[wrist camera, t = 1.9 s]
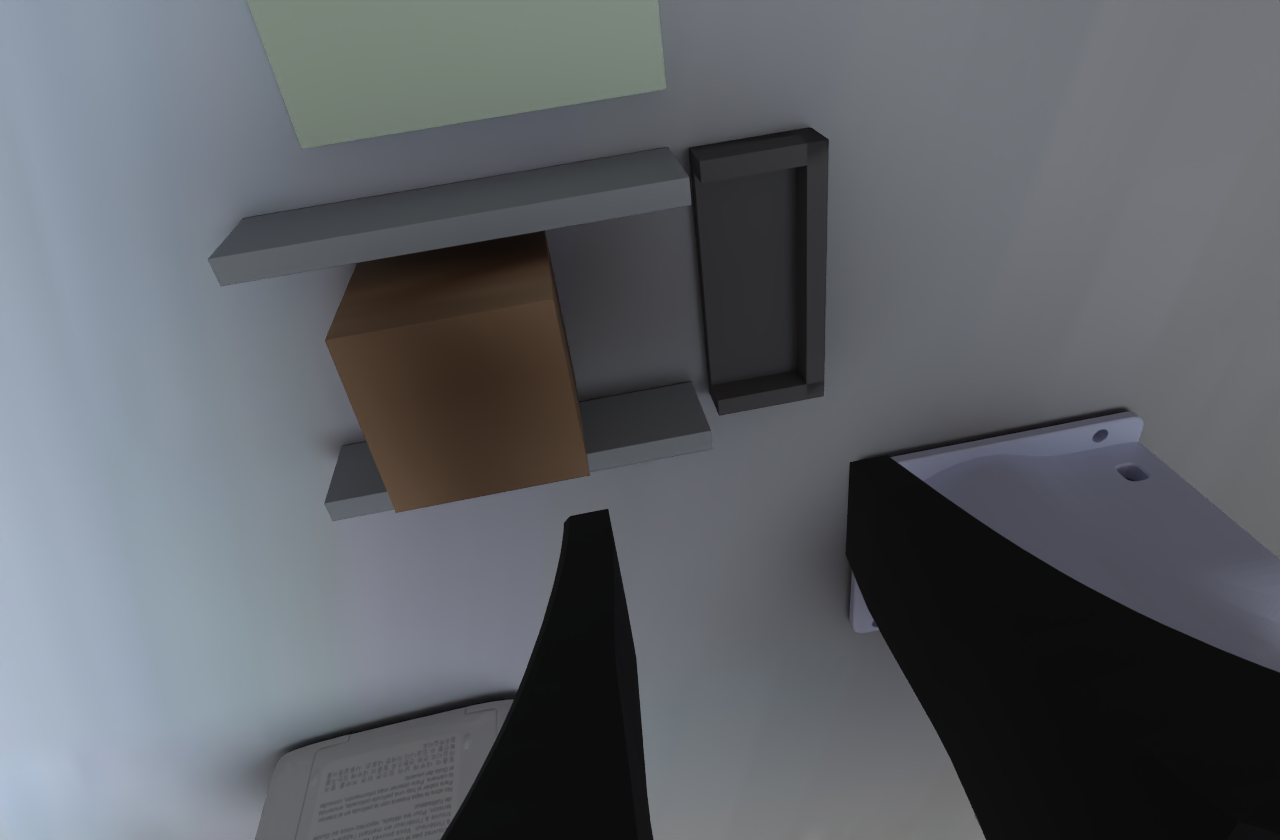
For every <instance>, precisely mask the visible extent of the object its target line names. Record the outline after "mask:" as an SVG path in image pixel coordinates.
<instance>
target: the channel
mask: <svg viewBox="0 0 1280 840" xmlns="http://www.w3.org/2000/svg"><path fill="white" fill-rule="evenodd" d="M689 205H692V204H691V193H690V181H689V176H688V175H687V173H686V172H685V171H684V169H683V168H682V166H681V165H680V163H679V162H678V161H677V159H676V158H675V156H674V155H673V153H672V152H671V151H670V149H669V148H668V147H666V148H660V149H654V150H648V151H642V152H636V153H630V154H624V155H618V156H613V157H607V158H601V159H595V160H589V161H583V162H577V163H571V164H565V165H559V166H553V167H547V168H541V169H535V170H529V171H523V172H517V173H511V174H505V175H499V176H493V177H487V178H482V179H476V180H470V181H464V182H458V183H452V184H446V185H440V186H434V187H428V188H422V189H416V190H410V191H404V192H398V193H392V194H386V195H380V196H374V197H368V198H362V199H356V200H350V201H345V202H339V203H333V204H327V205H321V206H315V207H309V208H303V209H297V210H291V211H285V212H279V213H273V214H267V215H261V216H255V217H249V218H243V219H242V220H241V221H240V223H239V224H238V225H237V226H236V227H235V228H234V230H233V231H232V232H231V233H230V234H229V235H228V236H227V238H226V239H225V240H224V241H223V242H222V243H221V245H220V246H219V247H218V248H217V249H216V250H215V252H214V253H213V254H212V255H211V256H210V257H209V258H208V261H209V263H210V265H211V267H212V269H213V271H214V273H215V275H216V277H217V279H218V282H219V284H220V286H225V285H231V284H237V283H242V282H248V281H254V280H260V279H266V278H271V277H277V276H283V275H289V274H295V273H300V272H306V271H312V270H318V269H324V268H330V267H335V266H341V265H347V264H353V263H359V262H364V261H370V260H376V259H382V258H388V257H393V256H399V255H405V254H411V253H417V252H422V251H428V250H434V249H440V248H446V247H451V246H457V245H463V244H469V243H475V242H480V241H486V240H492V239H498V238H504V237H509V236H515V235H521V234H527V233H533V232H538V231H544V230H550V229H556V228H562V227H567V226H573V225H579V224H585V223H591V222H596V221H602V220H608V219H614V218H620V217H626V216H631V215H637V214H643V213H649V212H655V211H660V210H666V209H672V208H678V207H684V206H689ZM579 407H580V414H581V420H582V427H583V433H584V440H585V446H586V452H587V459H588V465H589V472H594V471H599V470H604V469H610V468H615V467H620V466H626V465H631V464H636V463H641V462H647V461H652V460H657V459H662V458H668V457H673V456H678V455H683V454H689V453H694V452H699V451H705V450H710V449H712V438H711V430H710V427H709V425H708V422H707V420H706V417H705V415H704V412H703V410H702V407H701V405H700V402H699V400H698V397H697V395H696V392H695V390H694V387H693V385H692V382H687V383H682V384H676V385H671V386H666V387H660V388H655V389H649V390H644V391H639V392H633V393H628V394H622V395H617V396H612V397H606V398H601V399H595V400H590V401H584V402H579ZM324 504H325V506H326V508H327V510H328V512H329V514H330V516H331V519H332V521H336V520H341V519H346V518H352V517H357V516H362V515H367V514H373V513H378V512H383V511H388V510H394V507H393V505H392V502H391V500H390V497H389V495H388V492H387V490H386V488H385V485H384V483H383V480H382V478H381V475H380V473H379V471H378V468H377V466H376V463H375V461H374V458H373V456H372V454H371V451H370V449H369V446H368V444H367V442H363V443H357V444H352V445H346V446H342V448H341V451H340V454H339V457H338V461H337V464H336V467H335V470H334V474H333V477H332V480H331V483H330V487H329V490H328V493H327V496H326V500H325V503H324Z"/></svg>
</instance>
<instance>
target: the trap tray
mask: <svg viewBox="0 0 1280 840" xmlns="http://www.w3.org/2000/svg"><path fill="white" fill-rule="evenodd" d="M828 147H829V140H828V139H827V138H826V137H824V136H823V135H821V134H820V133H818V132H817V131H815V130H814V129H813V128H805V129H799V130H793V131H787V132H781V133H775V134H769V135H763V136H757V137H751V138H745V139H740V140H734V141H728V142H722V143H716V144H710V145H704V146H698V147H692V148H689V153H690V165H691V177H692V189H693V201H694V213H695V225H696V237H697V249H698V260H699V272H700V284H701V296H702V308H703V320H704V332H705V344H706V356H707V368H708V380H709V392H710V395H711V398H712V400H713V402H714V405H715V407H716V409H717V412H718V414H719V416H720V415H725V414H731V413H736V412H741V411H747V410H752V409H757V408H763V407H768V406H773V405H779V404H784V403H789V402H795V401H800V400H805V399H811V398H816V397H821V396H824V360H825V307H826V254H827V201H828Z"/></svg>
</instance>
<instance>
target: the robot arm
mask: <svg viewBox="0 0 1280 840" xmlns="http://www.w3.org/2000/svg"><path fill="white" fill-rule="evenodd" d="M1143 425H1144V422H1143V420H1142V418H1141V417H1139V416H1138V415H1137V414H1135V413H1133V412H1122V413H1117V414H1112V415H1107V416H1102V417H1096V418H1091V419H1086V420H1081V421H1076V422H1070V423H1065V424H1060V425H1055V426H1050V427H1045V428H1039V429H1034V430H1029V431H1024V432H1019V433H1013V434H1008V435H1003V436H998V437H993V438H988V439H982V440H977V441H972V442H967V443H962V444H956V445H951V446H946V447H941V448H936V449H930V450H925V451H920V452H915V453H910V454H905V455H899V456H894V457H889V456H887V455H885V456H880V457H875V458H870V459H864V460H859V461H854V462H850V470H849V493H848V515H847V537H846V556H847V559H848V561H849V564H850V567H851V569H852V578H851V598H850V617H849V621H850V625H851V627H852V629H853V630H854V631H855V632H857V633H868V632H873V631H878V630H880V632H881V634H882V636H883V638H884V639H885V641H886V643H887V645H888V646H889V648H890V650H891V652H892V654H893V655H894V657H895V659H896V661H897V662H898V664H899V666H900V668H901V670H902V671H903V673H904V675H905V677H906V678H907V680H908V682H909V684H910V685H911V687H912V689H913V691H914V692H915V694H916V696H917V698H918V700H919V701H920V703H921V705H922V707H923V708H924V710H925V712H926V714H927V715H928V717H929V719H930V721H931V722H932V724H933V726H934V728H935V730H936V731H937V733H938V735H939V737H940V739H941V741H942V743H943V745H944V747H945V749H946V751H947V753H948V755H949V757H950V759H951V761H952V763H953V765H954V768H955V770H956V772H957V774H958V777H959V779H960V781H961V783H962V786H963V788H964V790H965V792H966V795H967V797H968V799H969V801H970V804H971V806H972V808H973V810H974V813H975V817H976V819H977V821H978V823H979V825H980V827H981V829H982V831H983V834H984V836H985V838H986V840H1280V560H1279V559H1278V558H1277V557H1276V556H1275V555H1274V554H1273V553H1271V552H1270V551H1269V550H1268V549H1267V548H1265V547H1264V546H1263V545H1262V544H1261V543H1259V542H1258V541H1257V540H1256V539H1255V538H1253V537H1252V536H1251V535H1250V534H1249V533H1247V532H1246V531H1245V530H1244V529H1243V528H1241V527H1240V526H1239V525H1238V524H1237V523H1235V522H1234V521H1233V520H1232V519H1231V518H1229V517H1228V516H1227V515H1226V514H1225V513H1223V512H1222V511H1221V510H1220V509H1219V508H1217V507H1216V506H1215V505H1214V504H1213V503H1211V502H1210V501H1209V500H1208V499H1207V498H1205V497H1204V496H1203V495H1202V494H1201V493H1199V492H1198V491H1197V490H1196V489H1195V488H1193V487H1192V486H1191V485H1190V484H1189V483H1187V482H1186V481H1185V480H1184V479H1183V478H1181V477H1180V476H1179V475H1178V474H1177V473H1175V472H1174V471H1173V470H1172V469H1171V468H1169V467H1168V466H1167V465H1166V464H1165V463H1163V462H1162V461H1161V460H1160V459H1159V458H1157V457H1156V456H1155V455H1154V454H1153V453H1151V452H1150V451H1149V450H1148V449H1147V448H1145V447H1144V446H1143V445H1142V444H1141V443H1139V439H1140V436H1141V432H1142V429H1143ZM1097 431H1098V432H1097ZM1096 432H1097V433H1096ZM1095 433H1096V434H1095ZM440 840H653V835H652V829H651V822H650V814H649V806H648V797H647V787H646V774H645V762H644V749H643V737H642V724H641V711H640V699H639V687H638V674H637V662H636V654H635V648H634V643H633V637H632V631H631V626H630V620H629V615H628V609H627V604H626V598H625V593H624V588H623V583H622V578H621V572H620V567H619V562H618V557H617V552H616V547H615V542H614V537H613V531H612V526H611V521H610V516H609V511H608V509H605V510H600V511H594V512H589V513H584V514H579V515H574V516H570V517H569V518H568V519H567V520H566V521H565V523H564V532H563V541H562V548H561V553H560V559H559V563H558V568H557V572H556V576H555V581H554V585H553V588H552V592H551V595H550V599H549V602H548V606H547V609H546V613H545V616H544V620H543V623H542V626H541V629H540V632H539V635H538V638H537V641H536V643H535V646H534V649H533V652H532V654H531V657H530V660H529V663H528V665H527V668H526V671H525V674H524V676H523V679H522V681H521V684H520V686H519V689H518V691H517V693H516V696H515V698H514V701H513V703H512V705H511V707H510V710H509V712H508V714H507V716H506V718H505V721H504V723H503V725H502V727H501V729H500V732H499V734H498V736H497V738H496V740H495V742H494V744H493V746H492V748H491V750H490V752H489V754H488V756H487V758H486V760H485V761H484V763H483V765H482V767H481V769H480V771H479V773H478V775H477V777H476V779H475V781H474V783H473V785H472V786H471V788H470V790H469V792H468V794H467V796H466V797H465V799H464V801H463V803H462V804H461V806H460V808H459V810H458V811H457V813H456V815H455V816H454V818H453V819H452V821H451V823H450V824H449V826H448V828H447V829H446V831H445V833H444V834H443V836H442V838H441V839H440Z"/></svg>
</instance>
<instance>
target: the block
mask: <svg viewBox="0 0 1280 840" xmlns="http://www.w3.org/2000/svg"><path fill="white" fill-rule="evenodd" d="M325 342H326V344H327V347H328V349H329V352H330V354H331V356H332V359H333V361H334V364H335V366H336V369H337V371H338V373H339V376H340V378H341V381H342V383H343V386H344V388H345V390H346V393H347V395H348V398H349V400H350V403H351V405H352V407H353V410H354V412H355V415H356V417H357V420H358V422H359V424H360V427H361V429H362V432H363V434H364V437H365V439H366V441H367V444H368V446H369V449H370V451H371V454H372V456H373V458H374V461H375V463H376V466H377V468H378V471H379V473H380V475H381V478H382V480H383V483H384V485H385V488H386V490H387V492H388V495H389V497H390V500H391V502H392V505H393V507H394V509H395V512H396V513H397V512H403V511H408V510H413V509H418V508H423V507H429V506H434V505H439V504H444V503H449V502H454V501H460V500H465V499H470V498H475V497H480V496H486V495H491V494H496V493H501V492H506V491H511V490H517V489H522V488H527V487H532V486H537V485H542V484H548V483H553V482H558V481H563V480H568V479H574V478H579V477H584V476H589V475H590V472H589V465H588V459H587V452H586V446H585V440H584V433H583V427H582V420H581V414H580V407H579V401H578V394H577V388H576V381H575V376H574V371H573V366H572V361H571V356H570V351H569V346H568V342H567V337H566V332H565V327H564V322H563V317H562V312H561V307H560V302H559V298H558V293H557V288H556V283H555V278H554V273H553V268H552V263H551V258H550V253H549V249H548V244H547V239H546V234H545V230H544V231H538V232H533V233H527V234H521V235H515V236H509V237H504V238H498V239H492V240H486V241H480V242H475V243H469V244H463V245H457V246H451V247H446V248H440V249H434V250H428V251H422V252H417V253H411V254H405V255H399V256H393V257H388V258H382V259H376V260H370V261H364V262H359V263H357V265H356V268H355V270H354V272H353V275H352V277H351V279H350V282H349V284H348V287H347V289H346V291H345V294H344V296H343V298H342V301H341V303H340V306H339V308H338V310H337V313H336V315H335V317H334V320H333V322H332V325H331V327H330V329H329V332H328V334H327V336H326V339H325Z"/></svg>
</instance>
